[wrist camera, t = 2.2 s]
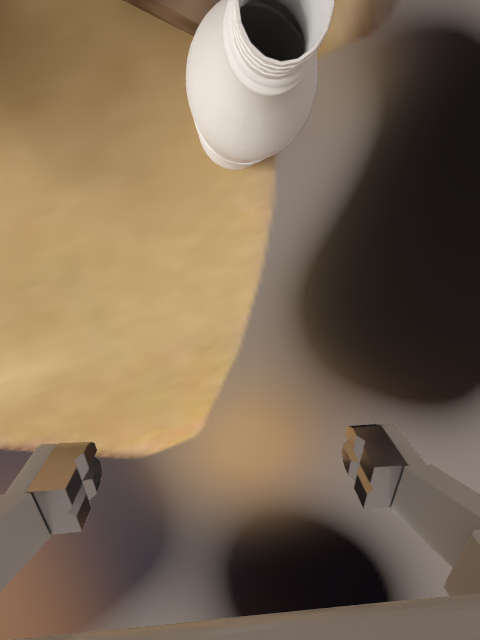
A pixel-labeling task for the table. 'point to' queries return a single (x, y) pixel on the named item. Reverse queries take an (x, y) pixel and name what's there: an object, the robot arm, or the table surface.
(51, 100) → the table surface
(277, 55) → the water bottle
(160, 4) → the display stand
